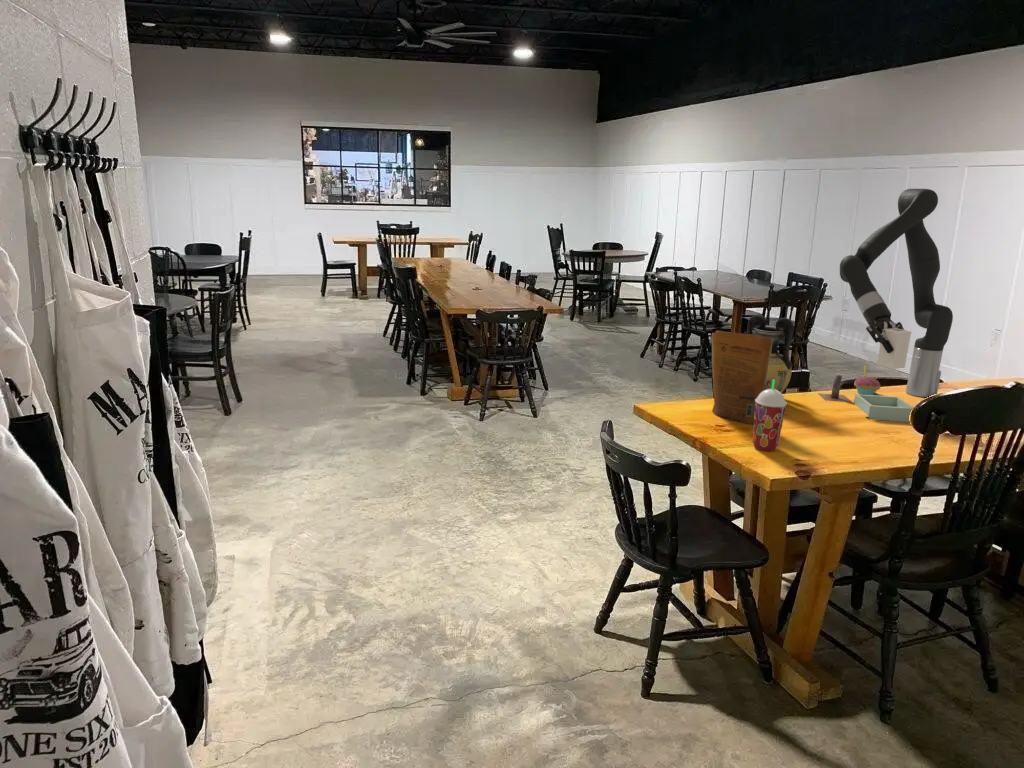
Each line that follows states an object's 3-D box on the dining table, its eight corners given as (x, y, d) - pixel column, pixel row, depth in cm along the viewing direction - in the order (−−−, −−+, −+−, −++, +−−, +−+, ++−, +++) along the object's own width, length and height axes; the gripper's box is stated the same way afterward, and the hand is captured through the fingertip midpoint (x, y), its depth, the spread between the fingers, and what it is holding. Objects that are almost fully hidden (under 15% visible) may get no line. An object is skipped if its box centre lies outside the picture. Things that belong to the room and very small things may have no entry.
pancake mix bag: (757, 428, 222) (768, 338, 215) (701, 413, 235) (710, 328, 228) (767, 424, 227) (778, 336, 220) (712, 409, 240) (721, 326, 232)
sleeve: (889, 363, 241) (895, 328, 237) (904, 367, 236) (911, 331, 232) (876, 364, 238) (883, 328, 235) (891, 369, 233) (898, 332, 230)
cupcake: (858, 399, 258) (863, 366, 255) (848, 392, 266) (853, 360, 263) (882, 400, 258) (888, 367, 255) (872, 393, 266) (877, 361, 263)
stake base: (843, 398, 259) (847, 373, 256) (851, 405, 250) (856, 379, 248) (817, 396, 260) (820, 371, 257) (824, 403, 251) (828, 378, 249)
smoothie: (785, 448, 206) (795, 380, 200) (771, 455, 200) (781, 385, 195) (758, 440, 211) (766, 374, 206) (743, 447, 206) (752, 378, 200)
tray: (896, 409, 247) (898, 396, 246) (913, 422, 234) (915, 408, 233) (853, 406, 249) (855, 394, 247) (867, 419, 235) (870, 406, 234)
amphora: (729, 403, 248) (740, 316, 240) (739, 392, 262) (749, 309, 254) (784, 412, 240) (796, 322, 232) (791, 400, 254) (803, 315, 246)
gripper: (865, 302, 235) (890, 346, 228) (897, 301, 241) (922, 343, 234) (850, 315, 241) (873, 358, 234) (881, 314, 247) (905, 356, 240)
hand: (898, 351), depth 234 cm, fingers closed on sleeve, 5 cm apart
